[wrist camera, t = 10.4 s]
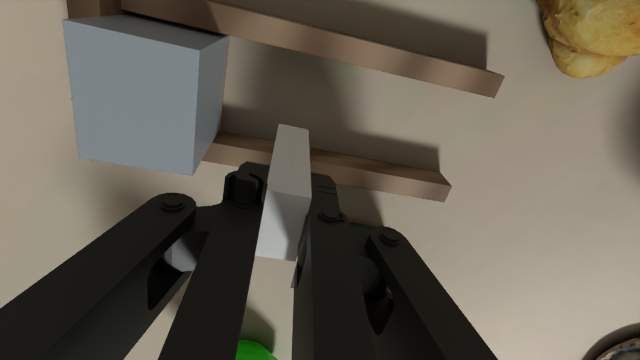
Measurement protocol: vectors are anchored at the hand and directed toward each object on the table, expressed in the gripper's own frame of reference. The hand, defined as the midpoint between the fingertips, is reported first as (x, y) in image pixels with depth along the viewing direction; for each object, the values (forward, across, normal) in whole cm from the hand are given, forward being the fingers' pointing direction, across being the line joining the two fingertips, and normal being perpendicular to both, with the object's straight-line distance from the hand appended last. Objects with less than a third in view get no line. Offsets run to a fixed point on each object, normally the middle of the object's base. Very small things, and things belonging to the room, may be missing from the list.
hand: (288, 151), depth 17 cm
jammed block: (+10, +8, 0) cm, 13 cm away
